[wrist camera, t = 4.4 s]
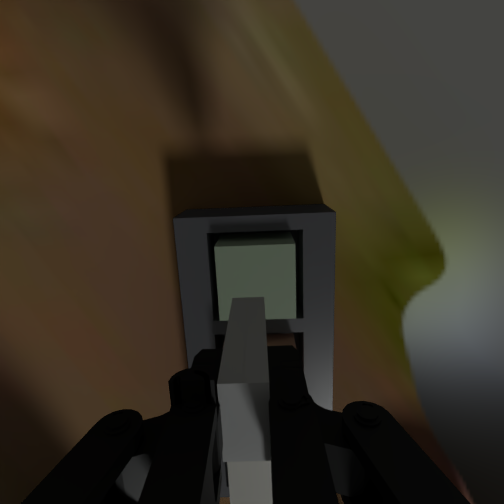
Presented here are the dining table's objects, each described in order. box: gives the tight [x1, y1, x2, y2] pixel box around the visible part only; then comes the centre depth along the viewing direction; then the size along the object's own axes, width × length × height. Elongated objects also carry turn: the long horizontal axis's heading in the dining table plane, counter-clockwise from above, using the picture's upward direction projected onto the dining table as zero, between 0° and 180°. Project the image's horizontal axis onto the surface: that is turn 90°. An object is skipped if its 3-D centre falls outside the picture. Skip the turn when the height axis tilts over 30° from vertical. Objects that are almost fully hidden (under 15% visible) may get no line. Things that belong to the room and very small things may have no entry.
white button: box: [227, 461, 273, 504], centre depth 25 cm, size 5×5×4 cm
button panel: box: [173, 204, 336, 497], centre depth 26 cm, size 10×22×4 cm, turn 3°
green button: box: [214, 232, 296, 321], centre depth 23 cm, size 5×5×4 cm
